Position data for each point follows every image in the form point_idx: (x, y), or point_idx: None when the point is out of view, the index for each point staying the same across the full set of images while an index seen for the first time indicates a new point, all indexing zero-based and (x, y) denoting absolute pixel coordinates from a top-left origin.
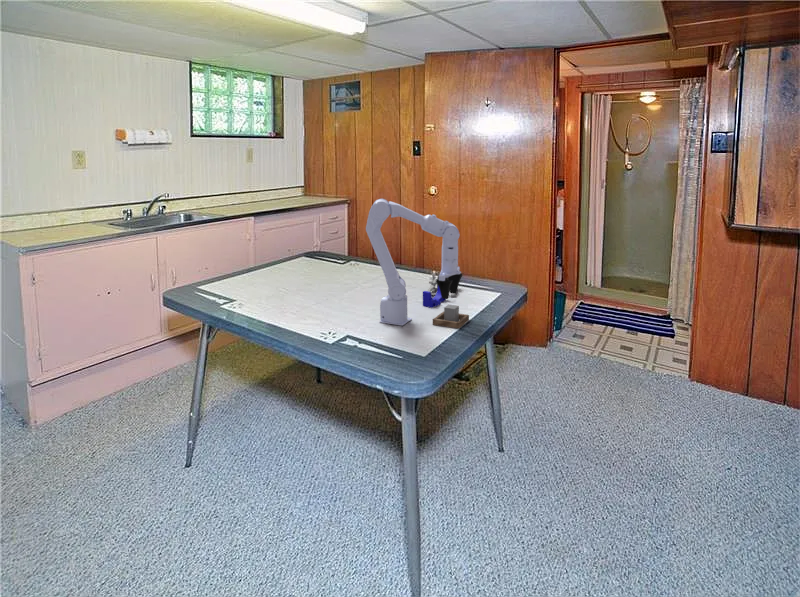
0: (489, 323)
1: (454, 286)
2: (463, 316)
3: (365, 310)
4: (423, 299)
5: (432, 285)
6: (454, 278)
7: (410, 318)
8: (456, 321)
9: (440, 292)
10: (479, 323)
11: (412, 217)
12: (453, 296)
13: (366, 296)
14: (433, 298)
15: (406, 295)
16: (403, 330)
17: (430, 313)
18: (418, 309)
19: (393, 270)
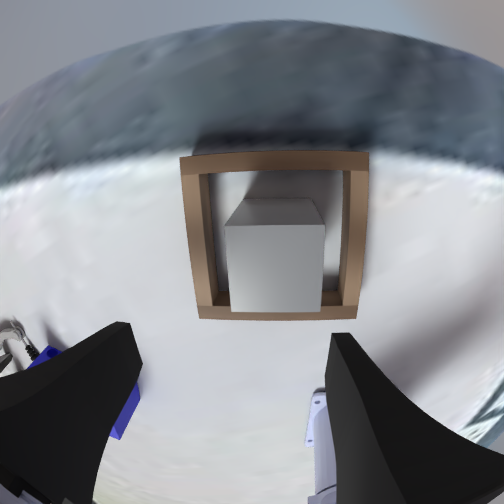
0: (192, 38)
1: (97, 380)
2: (202, 186)
3: (277, 479)
4: (130, 415)
5: None
6: (52, 449)
7: (319, 398)
8: (279, 200)
9: None
10: (216, 79)
11: None
12: (19, 330)
13: (178, 486)
14: None
15: (333, 491)
16: (436, 360)
17: (198, 362)
18: (182, 404)
19: None
